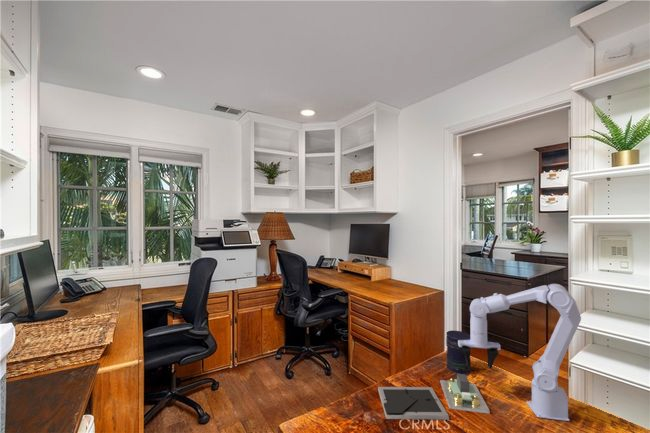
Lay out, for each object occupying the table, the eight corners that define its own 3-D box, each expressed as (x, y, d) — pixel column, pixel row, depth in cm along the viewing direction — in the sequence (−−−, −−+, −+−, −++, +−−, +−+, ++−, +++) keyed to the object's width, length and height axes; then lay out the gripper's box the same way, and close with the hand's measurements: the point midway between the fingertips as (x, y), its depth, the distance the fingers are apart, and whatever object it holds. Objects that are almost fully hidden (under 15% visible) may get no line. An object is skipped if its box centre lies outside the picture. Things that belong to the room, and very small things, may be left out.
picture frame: (386, 421, 94) (448, 421, 94) (386, 412, 94) (448, 413, 94) (378, 392, 110) (431, 392, 110) (378, 384, 110) (431, 385, 110)
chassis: (474, 386, 113) (474, 376, 113) (489, 413, 97) (489, 402, 97) (440, 382, 115) (440, 373, 115) (449, 408, 100) (449, 397, 100)
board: (469, 382, 111) (469, 370, 111) (479, 401, 99) (480, 388, 99) (447, 379, 113) (447, 368, 113) (455, 398, 101) (455, 385, 101)
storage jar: (441, 367, 127) (441, 333, 127) (452, 360, 133) (453, 328, 133) (464, 377, 119) (464, 341, 119) (474, 369, 125) (474, 335, 125)
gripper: (495, 328, 112) (495, 362, 112) (455, 326, 114) (456, 359, 114) (502, 335, 105) (502, 372, 105) (460, 333, 107) (461, 368, 107)
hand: (478, 366), depth 109 cm, fingers open, 7 cm apart
